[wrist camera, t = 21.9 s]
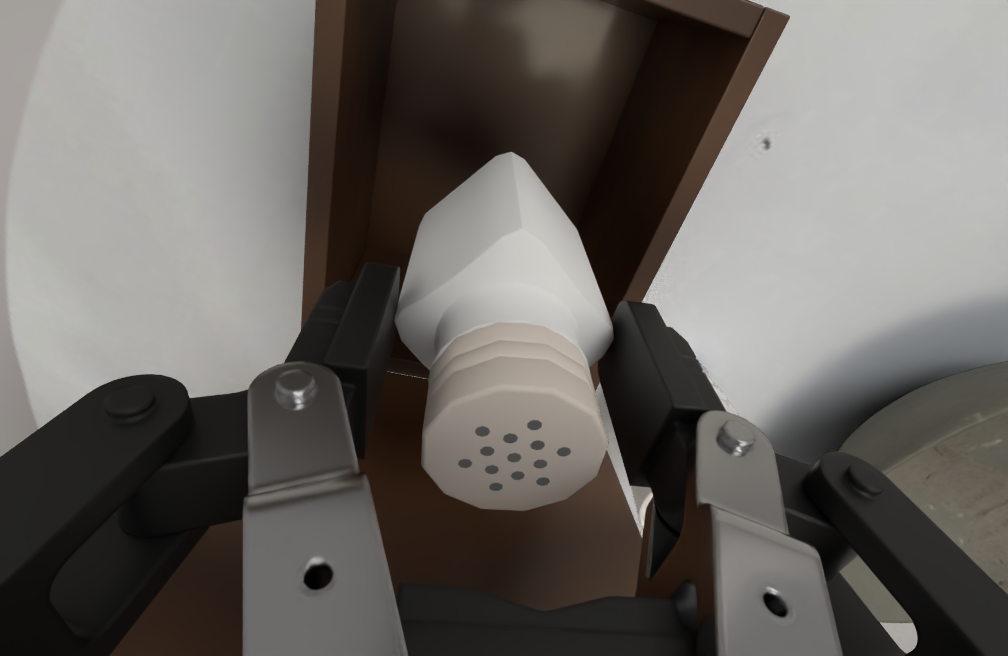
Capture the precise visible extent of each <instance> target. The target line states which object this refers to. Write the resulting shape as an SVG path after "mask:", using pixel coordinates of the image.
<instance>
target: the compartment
mask: <svg viewBox="0 0 1008 656" xmlns="http://www.w3.org/2000/svg"><path fill="white" fill-rule="evenodd" d="M789 18H790V16H789V15H786V14H784V13H781V12H778V11H776V10H773V9H770V8H768V7H763V6H762V5H759V4H757V3H754V2H751V1H749V0H316V9H315V31H314V54H313V76H312V98H311V120H310V143H309V165H308V187H307V210H306V232H305V254H304V277H303V299H302V321H301V330H302V328H303V327H304V325H305V323H306V321H307V320H308V317H309V315H310V313H311V312H312V310H313V308H315V304H316V302H317V300H318V298H319V297H320V295H321V293H322V291H323V290H325V289H326V288H328V287H329V286H331V285H332V284H334V283H335V282H337V281H338V280H343V281H350V282H357V281H358V279H359V276H360V274H361V272H362V269H363V267H364V265H365V263H366V262H372V263H379V264H386V265H393V266H399V267H400V280H399V295H398V301H399V298H400V294H401V290H402V287H403V283H404V279H405V276H406V272H407V268H408V265H409V261H410V258H411V254H412V250H413V247H414V243H415V239H416V236H417V232H418V228H419V225H420V223H421V221H422V219H423V217H424V215H425V213H427V212H428V211H429V210H430V209H432V208H433V207H434V206H435V205H436V204H438V203H439V202H440V201H441V200H443V199H444V198H445V197H446V196H447V195H449V194H450V193H451V192H452V191H454V190H455V189H456V188H457V187H459V186H460V185H461V184H462V183H463V182H465V181H466V180H467V179H468V178H470V177H471V176H472V175H473V174H474V173H476V172H477V171H478V170H479V169H481V168H482V167H483V166H484V165H486V164H487V163H488V162H489V161H490V160H492V159H493V158H494V157H495V156H498V155H501V154H505V153H508V152H513V153H514V154H516V155H518V156H520V157H521V158H523V159H525V160H526V162H527V163H528V164H529V166H530V167H531V168H532V170H533V171H534V172H535V174H536V175H537V176H538V178H539V179H540V180H541V182H542V183H543V184H544V186H545V187H546V189H547V190H548V191H549V193H550V194H551V195H552V197H553V198H554V199H555V201H556V202H557V203H558V205H559V206H560V207H561V209H562V210H563V211H564V213H565V214H566V215H567V217H568V218H569V219H570V221H571V222H572V223H573V225H574V226H575V227H576V229H577V231H578V233H579V236H580V239H581V241H582V244H583V247H584V249H585V252H586V255H587V257H588V260H589V263H590V265H591V268H592V271H593V273H594V276H595V279H596V282H597V284H598V287H599V290H600V292H601V295H602V298H603V300H604V303H605V306H606V308H607V311H608V314H609V316H610V319H611V321H612V319H613V316H614V313H615V311H616V308H617V306H618V304H619V303H620V302H621V301H622V300H627V301H634V302H640V303H641V302H642V300H643V298H644V297H645V295H646V293H647V291H648V289H649V287H650V285H651V283H652V281H653V279H654V277H655V275H656V273H657V272H658V270H659V268H660V266H661V264H662V262H663V260H664V258H665V256H666V254H667V252H668V250H669V249H670V247H671V245H672V243H673V241H674V239H675V237H676V235H677V233H678V231H679V229H680V227H681V226H682V224H683V222H684V220H685V218H686V216H687V214H688V212H689V210H690V208H691V206H692V204H693V202H694V201H695V199H696V197H697V195H698V193H699V191H700V189H701V187H702V185H703V183H704V181H705V179H706V178H707V176H708V174H709V172H710V170H711V168H712V166H713V164H714V162H715V160H716V158H717V156H718V155H719V153H720V151H721V149H722V147H723V145H724V143H725V141H726V139H727V137H728V135H729V133H730V131H731V130H732V128H733V126H734V124H735V122H736V120H737V118H738V116H739V114H740V112H741V110H742V108H743V107H744V105H745V103H746V101H747V99H748V97H749V95H750V93H751V91H752V89H753V87H754V85H755V84H756V82H757V80H758V78H759V76H760V74H761V72H762V70H763V68H764V66H765V64H766V62H767V60H768V59H769V57H770V55H771V53H772V51H773V49H774V47H775V45H776V43H777V41H778V39H779V37H780V36H781V34H782V32H783V30H784V28H785V26H786V24H787V22H788V20H789ZM589 370H590V374H591V378H592V382H593V385H594V389H595V391H596V389H597V387H598V385H599V383H600V379H599V376H598V361H597V362H596V363H594V364H593V365H592V366H591V367H589ZM387 371H388V372H394V373H399V374H405V375H410V376H416V377H421V378H426V379H429V374H430V370H429V369H428V368H427V367H425V366H424V365H423V364H422V363H421V362H420V360H419V359H418V358H417V357H416V356H415V355H414V354H413V353H412V352H411V351H410V349H409V348H408V347H407V346H406V345H405V344H404V343H403V342H402V341H401V338H400V335H399V333H398V330H397V327H396V332H395V339H394V345H393V350H392V354H391V357H390V361H389V365H388V369H387Z"/></svg>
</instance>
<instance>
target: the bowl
mask: <svg viewBox="0 0 1008 656" xmlns="http://www.w3.org/2000/svg"><path fill="white" fill-rule="evenodd" d="M837 452H843V453H847V454H850V455H853V456H856V457H858V458H860V459H862V460H864V461H866V462H867V463H869V464H871V465H872V466H874V467H875V468H877V469H878V470H879V471H881V472H882V473H883V474H884V475H886V476H887V477H888V478H889V479H890V480H891V481H892V482H893V483H894V484H895V485H896V486H897V487H898V488H899V489H900V490H901V491H902V492H903V493H904V494H905V495H906V496H907V497H908V498H909V499H910V500H911V501H912V502H913V503H915V504H916V505H917V506H918V507H919V508H920V509H921V510H922V511H923V512H924V513H925V514H926V515H927V516H928V517H929V518H930V519H931V520H932V521H933V522H934V523H935V524H936V525H937V526H938V527H939V528H940V529H941V530H942V531H943V532H944V533H945V534H946V535H947V536H948V537H949V538H950V539H951V540H952V541H953V542H954V543H955V544H956V545H957V546H959V547H960V548H961V549H962V550H963V551H964V552H965V553H966V554H967V555H968V556H969V557H970V558H971V559H972V560H973V561H974V562H975V563H976V564H977V565H978V566H979V567H980V568H981V569H982V570H983V571H984V572H985V573H986V574H987V575H988V576H989V577H990V578H991V579H992V580H993V581H994V582H995V583H996V584H997V585H998V586H999V587H1000V588H1002V589H1003V590H1004V591H1005V592H1006V593H1007V594H1008V361H1006V362H1001V363H996V364H991V365H987V366H982V367H978V368H975V369H971V370H968V371H964V372H961V373H957V374H954V375H951V376H948V377H945V378H942V379H939V380H937V381H934V382H932V383H929V384H927V385H925V386H923V387H920V388H918V389H916V390H914V391H912V392H910V393H908V394H906V395H905V396H903V397H901V398H899V399H898V400H896V401H894V402H893V403H891V404H889V405H888V406H886V407H885V408H883V409H882V410H880V411H879V412H877V413H876V414H875V415H873V416H872V417H870V418H869V419H868V420H867V421H865V422H864V423H863V424H862V425H861V426H860V427H859V428H857V429H856V430H855V431H854V432H853V433H852V434H851V435H850V436H849V437H848V439H847V440H846V441H845V442H844V443H843V445H842V446H841V447H840V449H839V450H838V451H837ZM840 573H841V574H842V576H843V577H844V578H845V580H846V581H847V582H848V583H849V585H850V586H851V587H852V588H853V590H854V591H855V592H856V593H857V595H858V596H859V597H860V599H861V600H862V601H863V602H864V604H865V605H866V606H867V607H868V609H869V610H870V611H871V613H872V614H873V615H874V616H875V618H876V619H877V620H878V621H879V622H883V623H913V621H912V620H911V618H910V617H909V615H908V614H907V613H906V611H905V610H904V609H903V608H902V607H901V606H900V604H899V603H898V602H897V601H896V600H895V598H894V597H893V596H892V595H891V594H890V592H889V591H888V590H887V589H886V588H885V587H884V585H883V584H882V583H881V582H880V581H879V579H878V578H877V577H876V576H875V575H874V573H873V572H872V571H871V570H870V569H869V568H868V566H867V565H866V564H865V563H864V562H863V560H862V559H861V558H860V557H859V556H857V557H856V558H855V559H853V560H852V561H851V562H850V563H849V564H848V565H847V566H846V567H844V568H843V569H842V570H841V571H840Z"/></svg>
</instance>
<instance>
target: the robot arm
mask: <svg viewBox="0 0 1008 656" xmlns="http://www.w3.org/2000/svg"><path fill="white" fill-rule="evenodd" d="M399 280H400V267H399V266H393V265H386V264H379V263H372V262H366V263H365V265H364V267H363V269H362V272H361V274H360V276H359V279H358V281H357V282H350V281H343V280H338V281H337V282H335V283H334V284H332V285H331V286H329V287H328V288H326V289H325V290H323V291H322V293H321V295H320V297H319V298H318V300H317V302H316V304H315V308H313V310H312V312H311V313H310V315H309V317H308V320H307V321H306V323H305V325H304V327H303V328H302V330H301V332H300V334H299V336H298V338H297V340H296V342H295V343H294V345H293V347H292V349H291V351H290V353H289V355H288V357H287V358H286V360H285V362H284V363H283V364H280V365H276V366H274V367H271V368H269V369H267V370H266V371H264V372H262V373H261V374H260V375H258V376H257V377H256V378H255V379H254V380H253V382H252V383H251V385H250V387H249V389H248V390H245V391H241V392H237V393H231V394H223V395H215V396H206V397H197V398H189V395H188V392H187V390H186V388H185V386H184V385H183V384H182V383H181V382H179V381H177V380H176V379H173V378H170V377H167V376H163V375H154V374H146V375H135V376H129V377H124V378H121V379H117V380H114V381H111V382H109V383H106V384H104V385H102V386H100V387H98V388H96V389H94V390H93V391H91V392H90V393H88V394H87V395H85V396H84V397H82V398H81V399H80V400H78V401H77V402H76V403H74V404H73V405H71V406H70V407H69V408H67V409H66V410H65V411H63V412H62V413H60V414H59V415H58V416H56V417H55V418H53V419H52V420H51V421H49V422H48V423H47V424H45V425H44V426H42V427H41V428H40V429H38V430H37V431H36V432H34V433H33V434H31V435H30V436H29V437H27V438H26V439H25V440H23V441H22V442H20V443H19V444H18V445H16V446H15V447H14V448H13V449H11V450H9V451H8V452H7V453H5V454H4V455H3V456H1V457H0V656H110V654H111V653H112V652H113V651H114V649H115V648H116V647H117V645H118V644H119V643H120V642H121V640H122V639H123V638H124V636H125V635H126V634H127V633H128V631H129V630H130V629H131V627H132V626H133V625H134V624H135V622H136V621H137V620H138V618H139V617H140V616H141V615H142V613H143V612H144V611H145V610H146V608H147V607H148V606H149V604H150V603H151V602H152V601H153V599H154V598H155V597H156V595H157V594H158V593H159V592H160V590H161V589H162V588H163V586H164V585H165V584H166V583H167V581H168V580H169V579H170V577H171V576H172V575H173V574H174V572H175V571H176V570H177V568H178V567H179V566H180V565H181V563H182V562H183V561H184V560H185V558H186V557H187V556H188V554H189V553H190V552H191V551H192V549H193V548H194V547H195V545H196V544H197V543H198V542H199V540H200V539H201V538H202V536H203V535H204V534H205V533H206V531H207V530H208V529H209V527H210V526H213V525H218V524H223V523H227V522H232V521H237V520H242V519H243V656H1008V594H1007V593H1006V592H1005V591H1004V590H1003V589H1002V588H1000V587H999V586H998V585H997V584H996V583H995V582H994V581H993V580H992V579H991V578H990V577H989V576H988V575H987V574H986V573H985V572H984V571H983V570H982V569H981V568H980V567H979V566H978V565H977V564H976V563H975V562H974V561H973V560H972V559H971V558H970V557H969V556H968V555H967V554H966V553H965V552H964V551H963V550H962V549H961V548H960V547H959V546H957V545H956V544H955V543H954V542H953V541H952V540H951V539H950V538H949V537H948V536H947V535H946V534H945V533H944V532H943V531H942V530H941V529H940V528H939V527H938V526H937V525H936V524H935V523H934V522H933V521H932V520H931V519H930V518H929V517H928V516H927V515H926V514H925V513H924V512H923V511H922V510H921V509H920V508H919V507H918V506H917V505H916V504H915V503H913V502H912V501H911V500H910V499H909V498H908V497H907V496H906V495H905V494H904V493H903V492H902V491H901V490H900V489H899V488H898V487H897V486H896V485H895V484H894V483H893V482H892V481H891V480H890V479H889V478H888V477H887V476H886V475H884V474H883V473H882V472H881V471H879V470H878V469H877V468H875V467H874V466H872V465H871V464H869V463H867V462H866V461H864V460H862V459H860V458H858V457H856V456H853V455H850V454H847V453H843V452H837V451H835V452H827V453H825V454H823V456H822V457H821V458H820V459H819V460H818V461H817V463H816V464H815V465H814V466H813V467H812V466H809V465H806V464H803V463H800V462H798V461H795V460H792V459H789V458H786V457H784V456H781V455H778V454H775V452H774V449H773V446H772V444H771V442H770V441H769V440H768V438H767V437H766V436H765V435H764V433H763V432H762V431H761V430H759V429H758V428H757V427H756V426H755V425H753V424H752V423H750V422H749V421H747V420H746V419H744V418H742V417H740V416H737V415H735V414H732V413H729V412H727V411H726V409H725V408H724V406H723V404H722V402H721V401H720V399H719V397H718V395H717V393H716V392H715V390H714V388H713V386H712V385H711V383H710V381H709V379H708V377H707V376H706V374H705V373H704V372H702V371H703V369H702V367H701V365H700V363H699V361H698V360H696V356H695V354H694V353H693V351H692V349H691V347H690V346H689V344H688V342H687V341H686V340H685V339H684V338H683V337H682V336H681V335H679V334H678V333H677V332H676V331H675V330H674V329H673V328H671V327H666V325H665V323H664V321H663V319H662V317H661V315H660V313H659V312H658V310H657V308H656V306H655V305H653V304H647V303H640V302H634V301H627V300H622V301H621V302H620V303H619V304H618V306H617V308H616V311H615V313H614V316H613V319H612V321H611V322H612V324H613V332H614V340H613V341H612V343H611V345H610V346H609V348H608V350H607V351H606V353H605V355H604V356H603V357H602V358H601V359H600V360H598V376H599V379H600V383H601V386H602V390H603V393H604V397H605V400H606V404H607V407H608V411H609V414H610V418H611V421H612V425H613V428H614V432H615V435H616V439H617V442H618V446H619V449H620V453H621V456H622V460H623V463H624V467H625V470H626V474H627V477H628V481H629V484H630V486H639V487H649V488H651V491H652V494H653V497H652V498H651V500H650V502H649V503H648V505H647V507H646V512H645V520H644V529H643V538H642V546H641V555H640V564H639V573H638V581H637V588H636V593H635V597H624V596H607V597H603V598H599V599H595V600H590V601H586V602H582V603H578V604H574V605H570V606H566V607H562V608H558V609H553V610H548V611H542V610H537V609H534V608H531V607H528V606H525V605H522V604H519V603H516V602H513V601H510V600H507V599H504V598H501V597H499V596H496V595H493V594H490V593H487V592H484V591H481V590H478V589H475V588H472V587H463V586H446V585H430V584H414V583H399V586H398V593H397V600H396V599H395V595H394V590H393V586H392V582H391V577H390V573H389V568H388V564H387V560H386V555H385V551H384V546H383V542H382V538H381V533H380V529H379V524H378V520H377V516H376V511H375V507H374V502H373V498H372V494H371V489H370V485H369V481H368V478H367V475H366V473H365V472H360V470H359V466H358V461H357V459H362V460H364V459H365V455H366V451H367V447H368V444H369V440H370V436H371V432H372V428H373V424H374V420H375V416H376V412H377V408H378V404H379V400H380V397H381V393H382V389H383V385H384V381H385V377H386V373H387V369H388V365H389V361H390V357H391V354H392V350H393V345H394V339H395V332H396V324H395V322H394V319H395V314H396V311H397V307H398V295H399ZM857 556H859V557H860V558H861V559H862V560H863V562H864V563H865V564H866V565H867V566H868V568H869V569H870V570H871V571H872V572H873V573H874V575H875V576H876V577H877V578H878V579H879V581H880V582H881V583H882V584H883V585H884V587H885V588H886V589H887V590H888V591H889V592H890V594H891V595H892V596H893V597H894V598H895V600H896V601H897V602H898V603H899V604H900V606H901V607H902V608H903V609H904V610H905V611H906V613H907V614H908V615H909V617H910V618H911V620H912V621H913V623H914V625H915V628H916V631H917V636H918V642H917V645H916V647H915V649H913V650H912V651H911V652H909V653H908V654H906V653H905V652H903V651H902V650H901V649H900V648H899V647H898V645H897V644H896V643H895V642H894V640H893V639H892V638H891V637H890V635H889V634H888V633H887V632H886V630H885V629H884V628H883V626H882V625H881V624H880V623H879V621H878V620H877V619H876V618H875V616H874V615H873V614H872V613H871V611H870V610H869V609H868V607H867V606H866V605H865V604H864V602H863V601H862V600H861V599H860V597H859V596H858V595H857V593H856V592H855V591H854V590H853V588H852V587H851V586H850V585H849V583H848V582H847V581H846V580H845V578H844V577H843V576H842V574H841V573H840V571H841V570H842V569H843V568H844V567H846V566H847V565H848V564H849V563H850V562H851V561H852V560H853V559H855V558H856V557H857Z"/></svg>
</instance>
